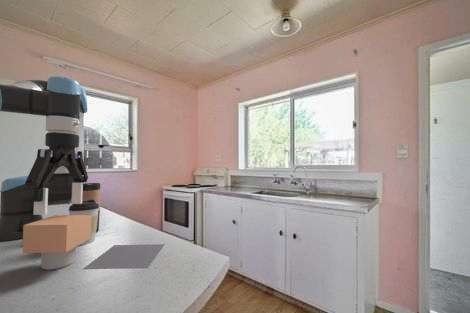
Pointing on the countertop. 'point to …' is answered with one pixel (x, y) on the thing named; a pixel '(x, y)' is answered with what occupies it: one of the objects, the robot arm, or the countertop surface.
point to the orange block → (56, 233)
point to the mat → (126, 257)
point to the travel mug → (92, 196)
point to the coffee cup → (87, 209)
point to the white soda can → (57, 259)
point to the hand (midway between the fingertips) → (60, 208)
